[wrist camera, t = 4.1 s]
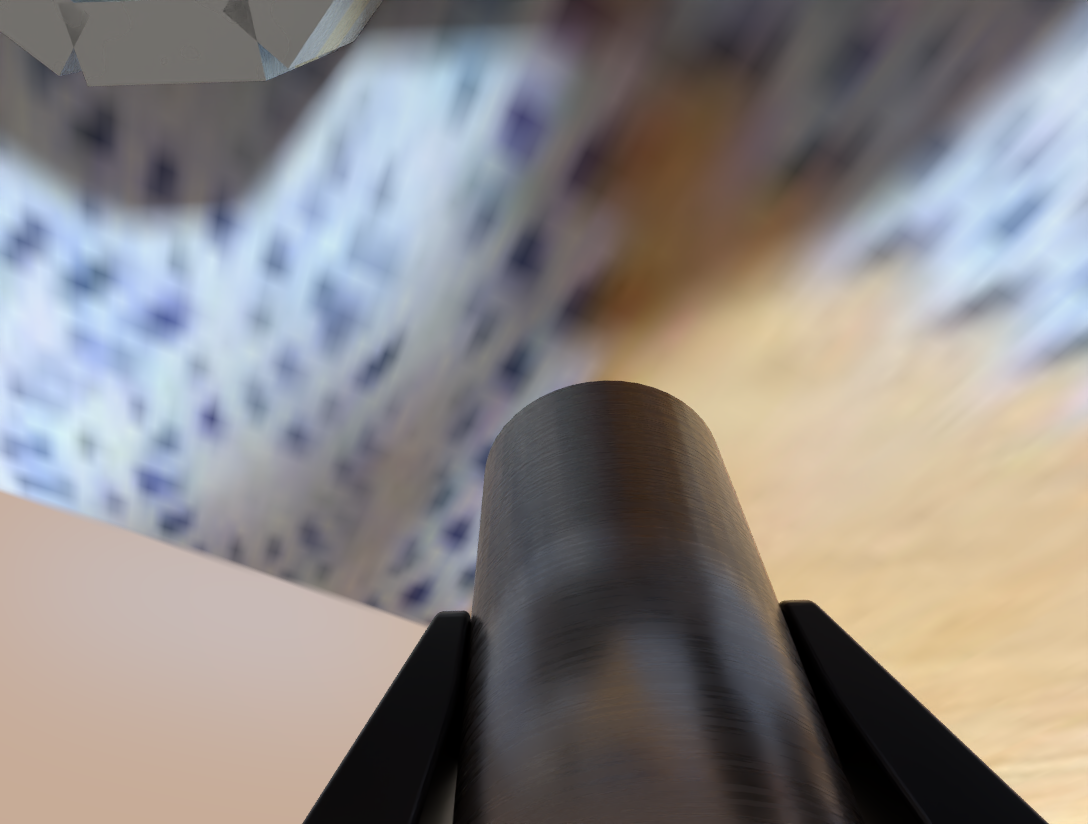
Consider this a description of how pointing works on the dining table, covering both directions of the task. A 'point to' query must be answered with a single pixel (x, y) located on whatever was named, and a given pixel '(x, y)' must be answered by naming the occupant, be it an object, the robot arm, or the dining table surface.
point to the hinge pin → (630, 633)
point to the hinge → (181, 37)
